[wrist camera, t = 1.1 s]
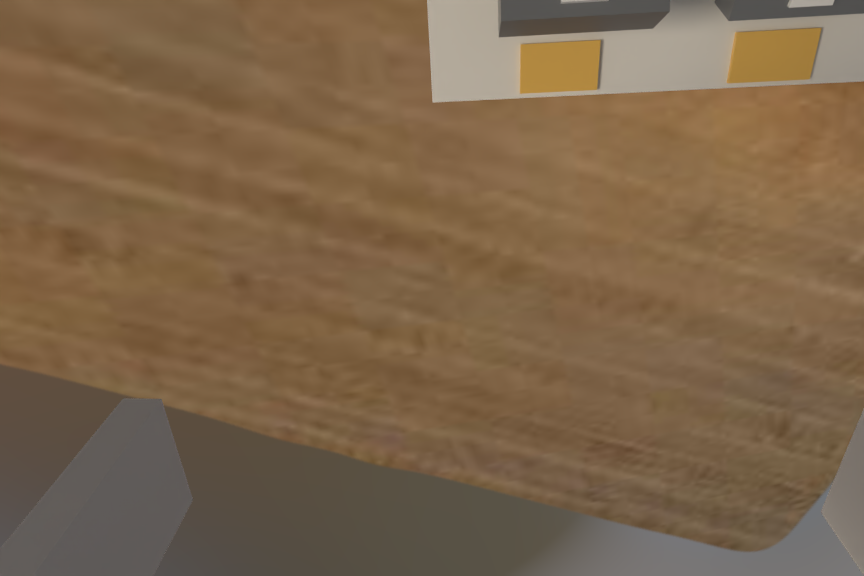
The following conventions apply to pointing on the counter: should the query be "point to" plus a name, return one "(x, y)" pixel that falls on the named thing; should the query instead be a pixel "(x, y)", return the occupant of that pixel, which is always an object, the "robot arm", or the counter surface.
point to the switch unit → (637, 54)
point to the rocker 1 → (577, 16)
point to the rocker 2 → (786, 8)
